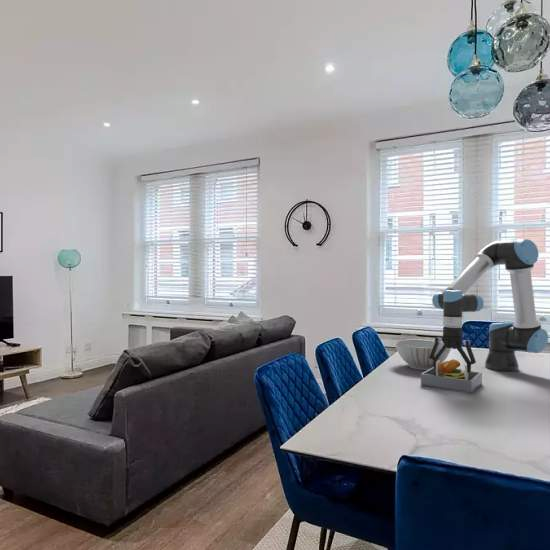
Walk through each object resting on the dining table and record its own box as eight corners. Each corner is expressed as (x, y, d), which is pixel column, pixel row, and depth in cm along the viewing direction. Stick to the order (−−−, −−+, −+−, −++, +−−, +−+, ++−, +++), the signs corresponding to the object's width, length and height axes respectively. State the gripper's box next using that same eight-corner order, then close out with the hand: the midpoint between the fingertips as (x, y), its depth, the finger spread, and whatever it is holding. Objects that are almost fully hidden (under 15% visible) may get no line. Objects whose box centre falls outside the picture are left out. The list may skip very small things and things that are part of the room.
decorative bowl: (423, 375, 204) (423, 349, 204) (383, 364, 228) (384, 341, 228) (463, 370, 217) (463, 345, 217) (421, 360, 241) (422, 338, 240)
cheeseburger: (470, 384, 182) (464, 360, 182) (444, 388, 184) (438, 365, 184) (465, 377, 192) (459, 355, 192) (439, 382, 194) (434, 360, 194)
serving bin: (434, 377, 202) (434, 366, 202) (481, 384, 190) (481, 372, 190) (420, 385, 187) (420, 373, 187) (471, 393, 175) (471, 381, 175)
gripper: (422, 325, 192) (421, 375, 192) (480, 329, 178) (479, 384, 178) (427, 323, 198) (426, 372, 198) (484, 328, 184) (483, 380, 184)
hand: (451, 378), depth 188 cm, fingers closed on cheeseburger, 11 cm apart
